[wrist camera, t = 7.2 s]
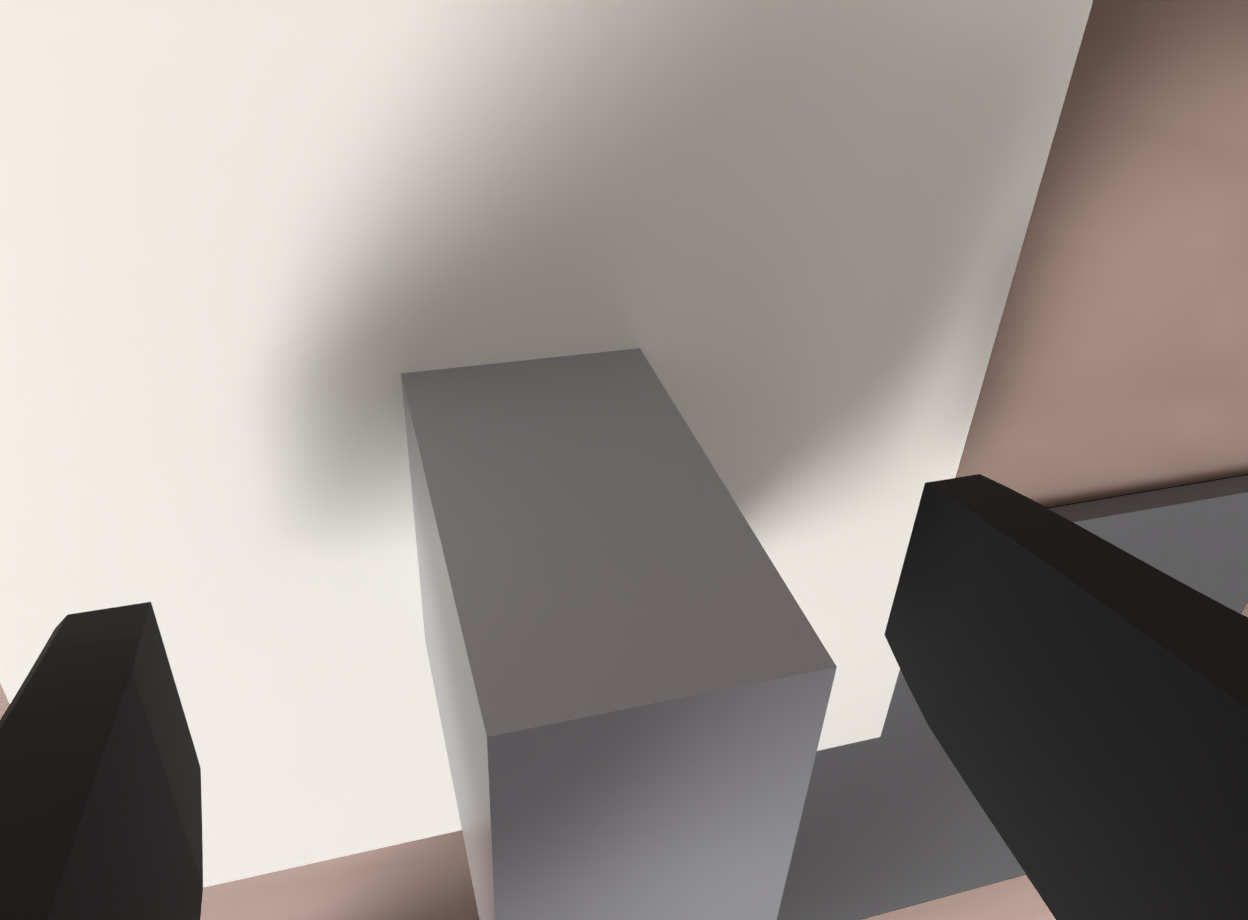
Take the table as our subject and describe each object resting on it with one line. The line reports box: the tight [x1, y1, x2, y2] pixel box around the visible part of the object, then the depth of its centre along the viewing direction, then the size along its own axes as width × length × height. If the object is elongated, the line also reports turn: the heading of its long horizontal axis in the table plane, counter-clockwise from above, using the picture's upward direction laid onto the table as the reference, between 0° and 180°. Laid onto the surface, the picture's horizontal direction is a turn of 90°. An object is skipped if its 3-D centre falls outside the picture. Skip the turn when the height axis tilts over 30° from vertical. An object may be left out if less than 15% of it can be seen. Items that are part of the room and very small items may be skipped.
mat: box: [777, 475, 1248, 920], centre depth 24 cm, size 13×13×1 cm
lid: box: [0, 0, 1093, 920], centre depth 10 cm, size 11×11×5 cm
